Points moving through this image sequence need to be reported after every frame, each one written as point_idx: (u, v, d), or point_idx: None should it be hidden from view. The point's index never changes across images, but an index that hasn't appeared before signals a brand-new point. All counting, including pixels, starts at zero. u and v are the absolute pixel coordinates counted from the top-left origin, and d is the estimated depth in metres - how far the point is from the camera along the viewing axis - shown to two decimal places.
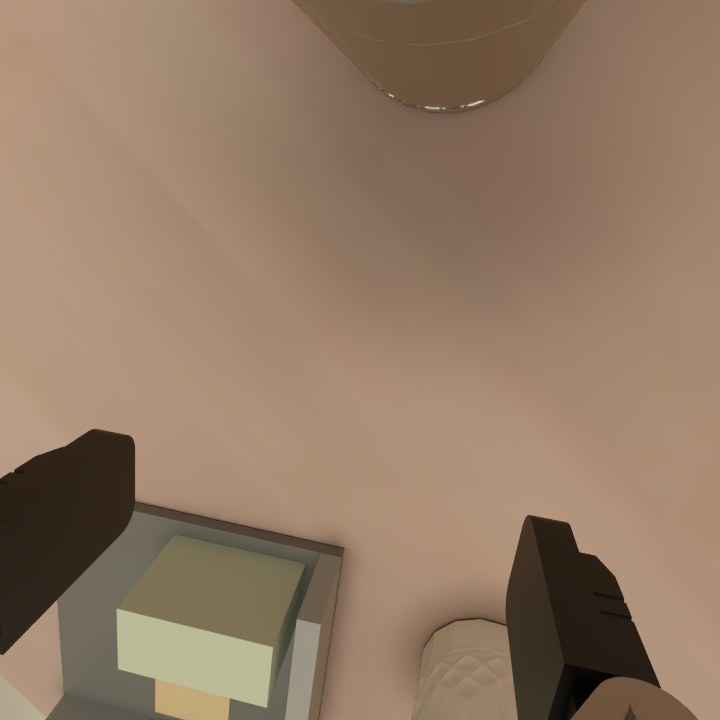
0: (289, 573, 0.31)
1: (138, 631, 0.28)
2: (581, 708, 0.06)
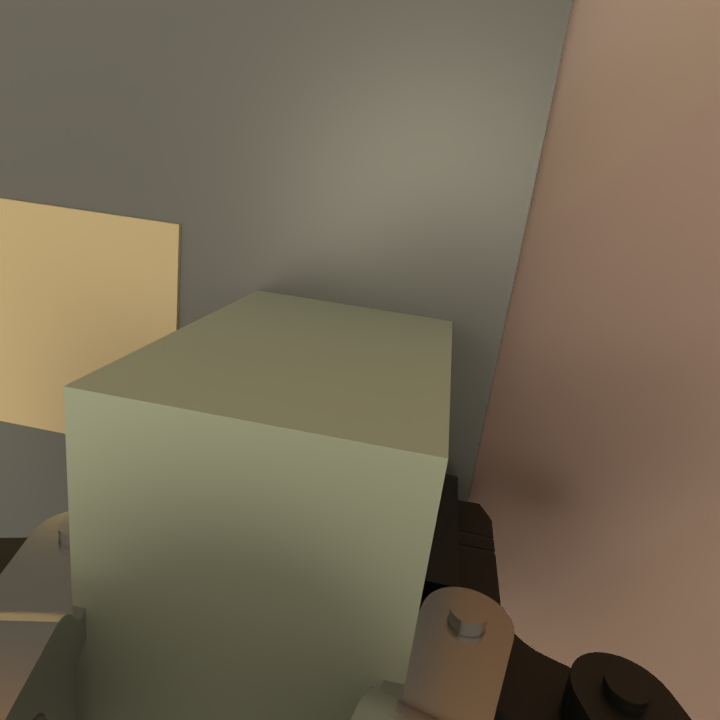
0: None
1: (319, 536, 0.06)
2: None
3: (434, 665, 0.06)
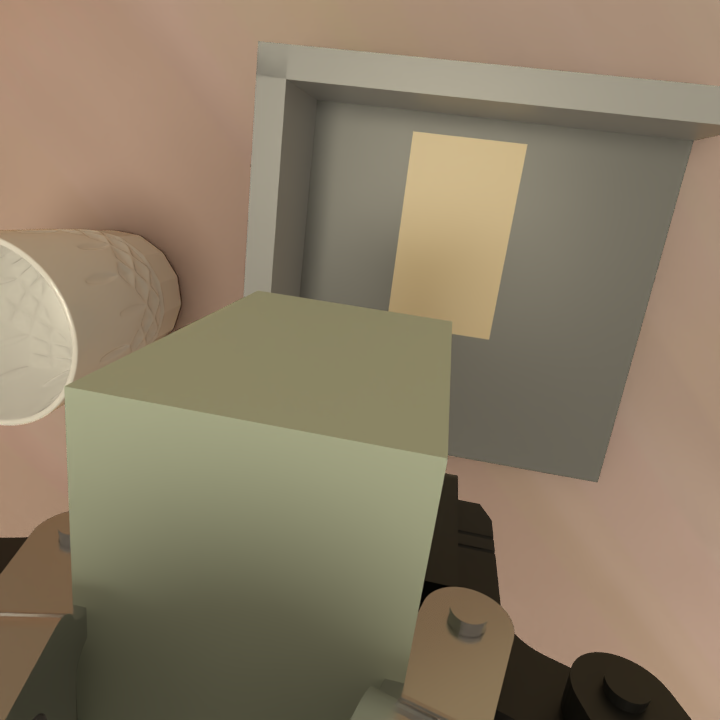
0: None
1: (319, 536, 0.06)
2: None
3: (434, 665, 0.06)
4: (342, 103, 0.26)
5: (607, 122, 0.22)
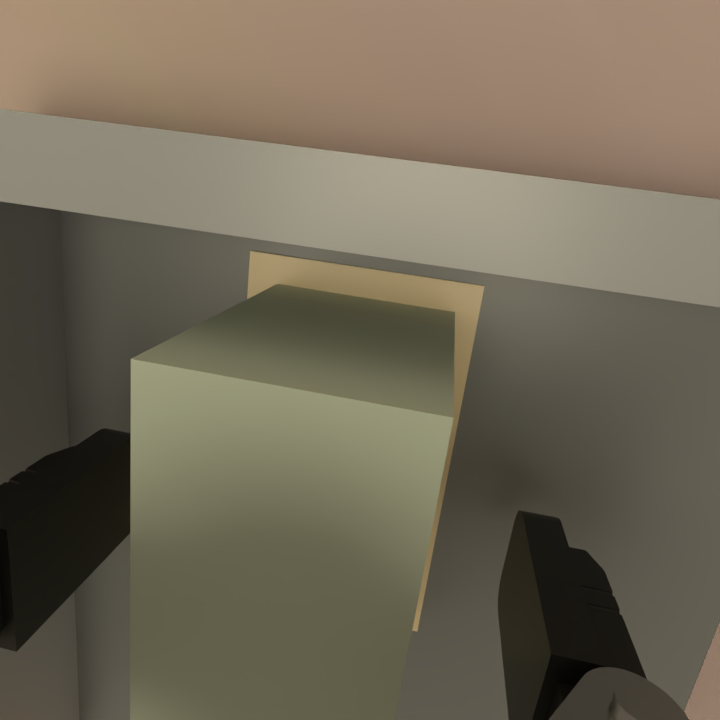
0: None
1: (344, 485, 0.07)
2: (566, 697, 0.06)
3: None
4: None
5: None
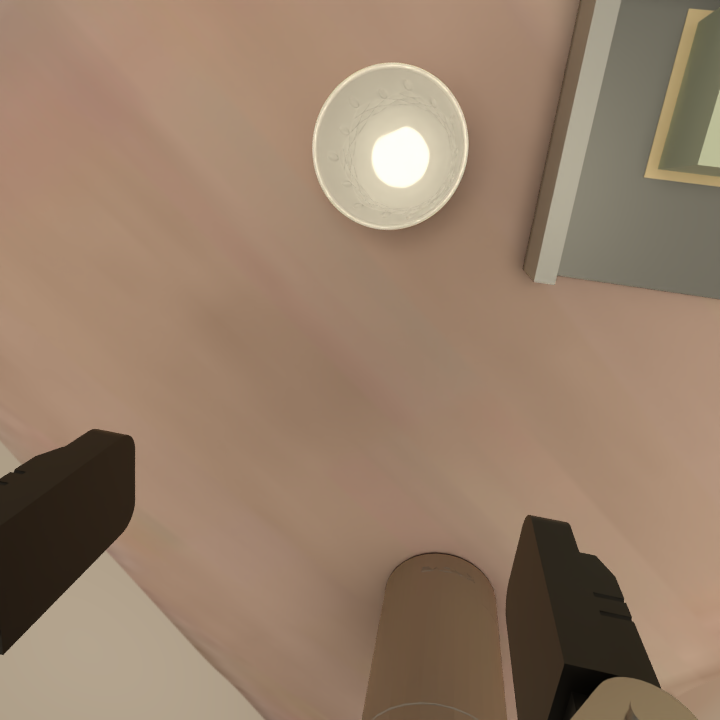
0: None
1: None
2: (581, 708, 0.06)
3: None
4: None
5: None
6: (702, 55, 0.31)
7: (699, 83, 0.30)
